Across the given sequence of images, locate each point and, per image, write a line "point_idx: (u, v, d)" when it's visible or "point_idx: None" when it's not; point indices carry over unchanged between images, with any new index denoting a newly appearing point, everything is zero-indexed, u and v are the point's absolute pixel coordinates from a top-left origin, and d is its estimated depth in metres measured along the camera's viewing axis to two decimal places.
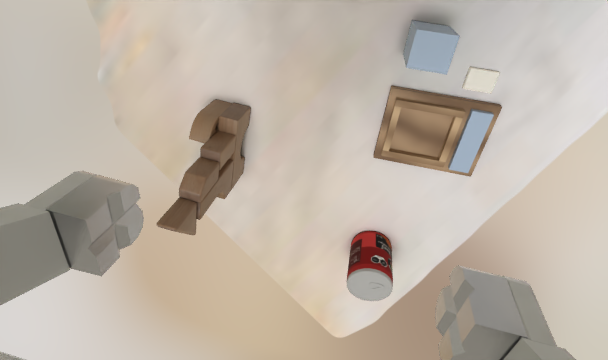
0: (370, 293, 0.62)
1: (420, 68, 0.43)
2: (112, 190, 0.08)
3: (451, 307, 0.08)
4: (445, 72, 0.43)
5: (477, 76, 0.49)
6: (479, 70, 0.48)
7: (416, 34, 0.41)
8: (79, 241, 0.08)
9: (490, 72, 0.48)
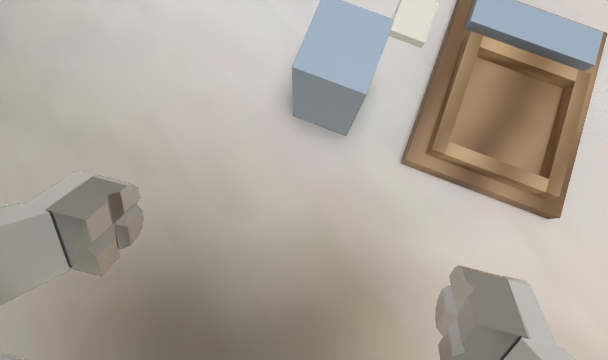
0: None
1: (373, 66, 0.20)
2: (112, 190, 0.08)
3: (451, 307, 0.08)
4: (390, 21, 0.20)
5: (406, 20, 0.28)
6: (396, 17, 0.28)
7: (302, 68, 0.20)
8: (79, 241, 0.08)
9: (402, 2, 0.29)
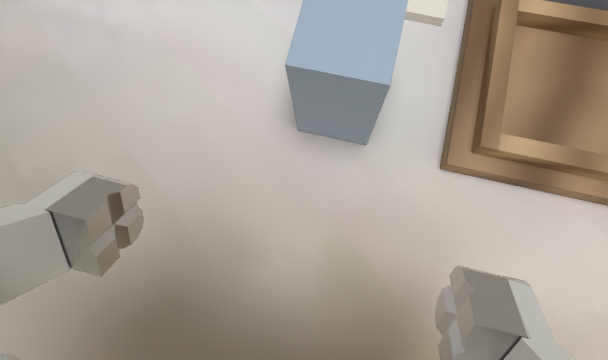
0: None
1: (393, 47, 0.15)
2: (112, 190, 0.08)
3: (451, 307, 0.08)
4: None
5: None
6: None
7: (298, 64, 0.15)
8: (79, 241, 0.08)
9: None
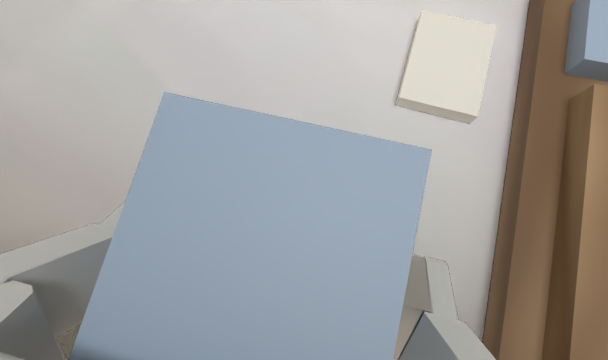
0: None
1: None
2: None
3: None
4: (415, 159, 0.05)
5: (431, 73, 0.13)
6: (409, 69, 0.14)
7: None
8: None
9: (418, 36, 0.14)
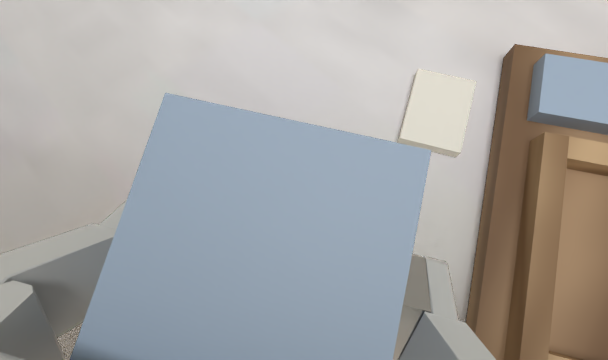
0: None
1: None
2: None
3: None
4: (415, 160, 0.05)
5: (424, 119, 0.17)
6: (408, 116, 0.18)
7: None
8: None
9: (415, 90, 0.18)
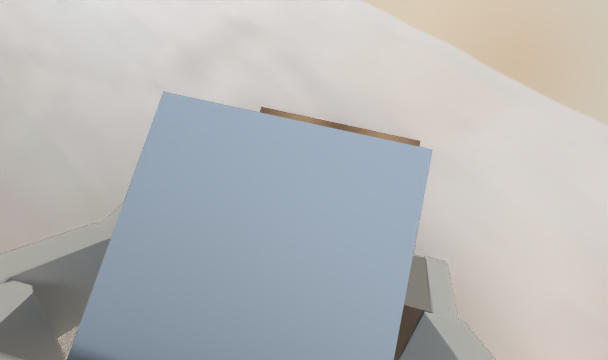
0: None
1: None
2: None
3: None
4: (416, 159, 0.05)
5: None
6: None
7: None
8: None
9: None
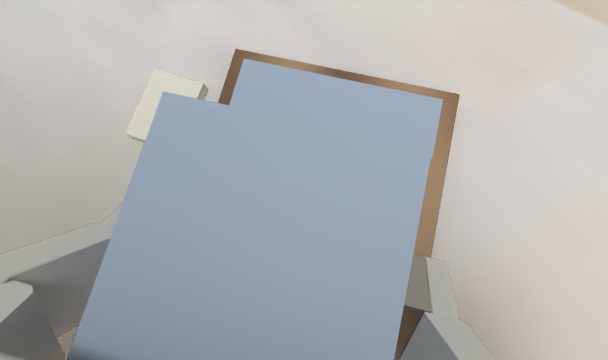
0: None
1: None
2: None
3: None
4: (416, 159, 0.05)
5: (150, 117, 0.19)
6: (136, 113, 0.19)
7: None
8: None
9: (147, 89, 0.19)
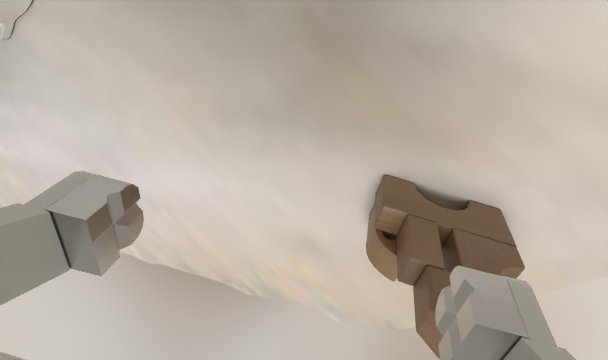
0: None
1: None
2: (112, 190, 0.08)
3: (451, 307, 0.08)
4: None
5: None
6: None
7: None
8: (79, 241, 0.08)
9: None
